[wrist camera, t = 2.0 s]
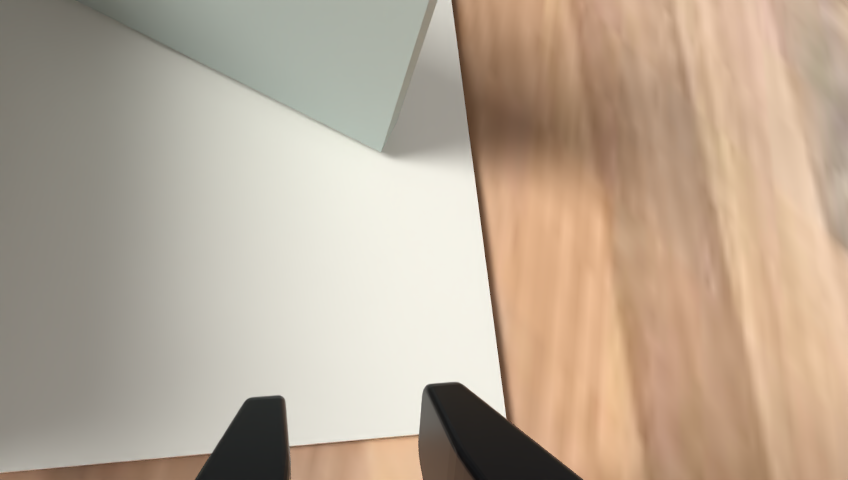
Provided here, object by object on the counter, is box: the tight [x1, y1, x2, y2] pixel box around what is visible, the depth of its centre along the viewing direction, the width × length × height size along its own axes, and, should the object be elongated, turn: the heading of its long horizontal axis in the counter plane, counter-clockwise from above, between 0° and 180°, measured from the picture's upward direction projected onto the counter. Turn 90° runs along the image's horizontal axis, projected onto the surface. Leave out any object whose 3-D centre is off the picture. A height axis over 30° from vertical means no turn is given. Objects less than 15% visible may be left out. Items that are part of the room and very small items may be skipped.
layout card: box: [0, 0, 506, 473], centre depth 23 cm, size 18×19×1 cm
